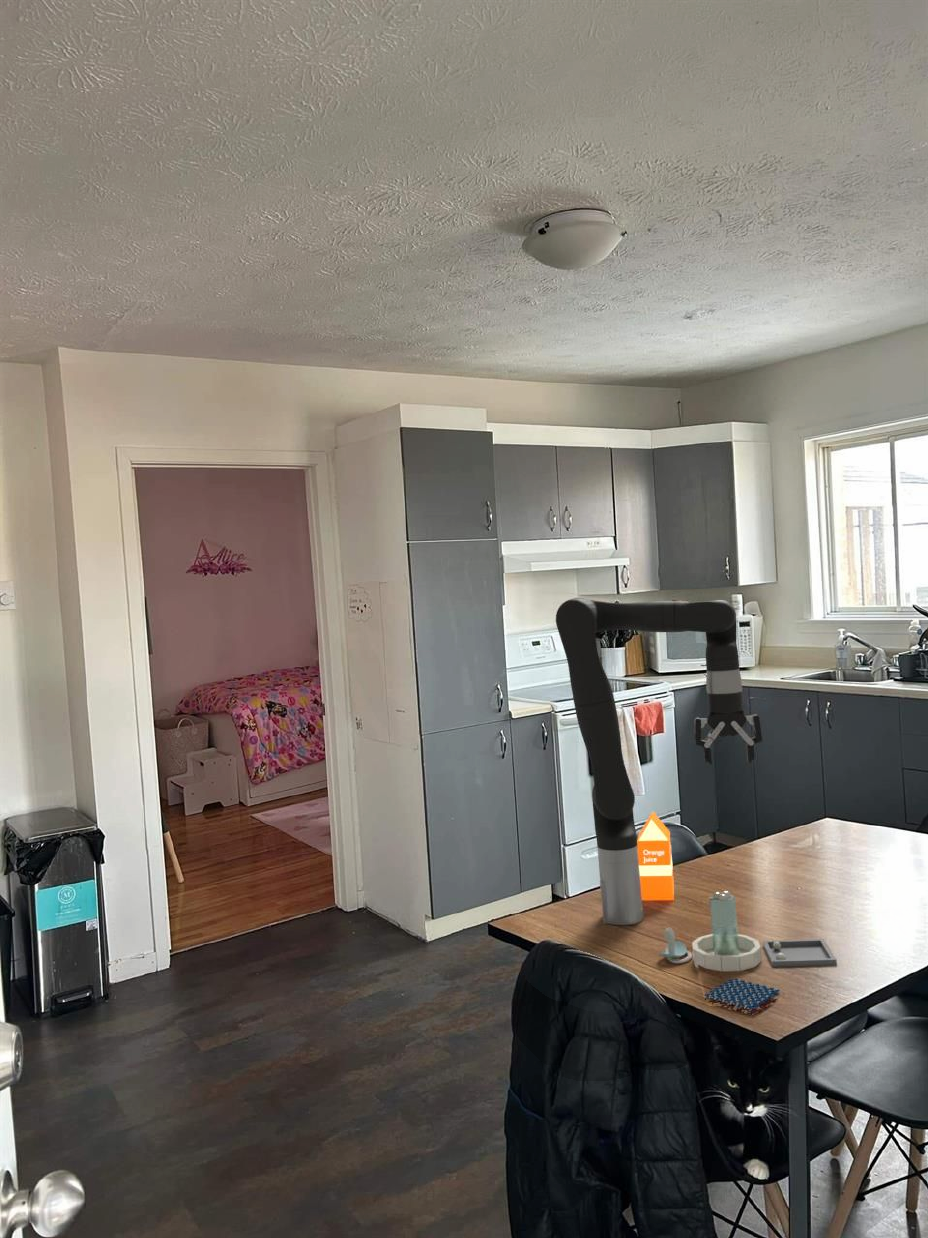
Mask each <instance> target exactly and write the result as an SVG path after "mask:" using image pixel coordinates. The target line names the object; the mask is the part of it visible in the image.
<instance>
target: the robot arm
mask: <svg viewBox="0 0 928 1238" xmlns="http://www.w3.org/2000/svg"><path fill="white" fill-rule="evenodd" d="M555 625H556V628H557V631H558V634H559V638H560V641H561V644H562V647H563V648H562V649H564V654H565V657H566V660H567V666H568V673H569V681H570V686H571V692H572V699H573V705H574V709H575V714H576V719H577V724H578V727H579V730H580V734H581V737H582V740H583V743H584V746H585V749H586V751H587V754H588V757H589V759H590V764H591V770H592V777H593V787H592V792H591V799H592V810H593V811H592V812H593V819H594V820H593V821H594V831H595V837H596V846H597V857H598V871H599V885H600V888H599V889H600V899H601V908H602V909H601V910H602V920H603V924H605V925H606V924H610V925H616V926H630V925H635V924H639V923H640V922H641V921H643V920H644V907H643V900H642V892H641V880H640V870H639V856H638V844H637V841H638V835H637V830H636V824H635V818H634V807H635V804H636V801H635V800H636V797H635V795H636V794H635V793H634V790H633V788H632V785H631V782H630V781H631V780H630V778H629V775H628V772H627V768H626V765H625V761H624V756H623V755H624V754H623V749H622V738H621V730H620V724H619V717H618V711H617V706H616V702H615V701H616V700H615V696H614V691H613V689H612V685H611V683H610V681H609V678H608V676H607V673H606V672H605V669H604V667H603V664H602V662H601V659H600V655H599V652H598V645H597V639H596V637H597V636H596V633H600V632H607V631H608V632H609V631H618V630H620V631H621V630H624V631H637V632H648V633H683V632H685V633H686V632H698V633H705V637H706V638H705V640H706V641H705V642H706V647H705V664H706V665H705V667H706V680H705V682H706V686H705V689H706V695H707V696H706V697H707V708H708V716H707V717H706V718H703V717H702V718H700V717H698V716H697V717H695V718H694V719H693V721H694V723H693V724H694V728H693V729H694V744H695V745H696V746H698V747H699V746H700V747H702V748H703V756H704V758H703V759H704V761H705V763H707V764H708V765H709V766H711V765H712V764H713V762H712V748H711V745H712V744H713V742H714V741H715V740H716V739H717V737H718V736H719V737H721V738H722V737H727V736H728V737H729V736H730V737H736V736H737V735H740V737H741V738H742V739H743V740H744V741H745V742H746V744H745V749H746V761H747V763H748V764H751V763H752V761H754V760H755V745H757V743H762V742H763V735H762V728H761V720H760V717H759V715H758V714H756V713H755V714H754V713H753V714H752V715H751V714H750V715H745V711H744V710H745V709H744V697H743V686H742V685H743V684H742V676H741V670H740V661H739V660H740V658H739V651H738V645H737V637H738V636H737V630H738V629H737V612H736V608H735V607H734V605H733V604H732V603H730V602H729V601H727V600H724V599H717V600H716V599H715V600H705V601H703V600H702V601H686V600H685V601H684V600H662V601H661V600H653V601H641V602H640V601H639V602H611V601H610V602H608V601H601V600H595V599H589V598H584V597H574V598H571V599H567V600H565V601H564V602H563V603H561V604H560V605H559V607H558V609H557V611H556V614H555ZM747 722H749V724H750V725H751V726H753V728H752V729H753V734H754V736H752V737H750V736H749V735H748V733H746V731H745V730H744V729H743V727H744V726H745V724H746V723H747ZM706 724H707V725H708V726H709V727H710V728H711V730H710V731H709V732H708V734H707V736H706V737H705V739H702V729H703V728H704V727H705V725H706Z"/></svg>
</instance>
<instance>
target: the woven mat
mask: <svg viewBox="0 0 928 1238" xmlns="http://www.w3.org/2000/svg"><path fill="white" fill-rule="evenodd" d="M713 989H714V990H713ZM713 989H712V990H709V993H704V997H705V996H706V997H705V998H704V1001H705V1000H706V1001H705V1003H706V1002H708V1003H707V1004H710V1002H712V1003H717V1004H716V1006H717V1005H718V1006H717V1007H720V1006H719V1005H721V1004H723V1008H725V1006H728V1007H727V1010H729V1009H731V1008H733V1009H731V1010H733V1011H734V1010H735V1012H737V1011H736V1010H739V1011H741V1010H744V1012H743V1013H744V1014H745V1015H748V1014H747V1013H749V1012H750V1013H751V1014H752V1013H753V1014H752V1015H754V1014H756V1013H757V1014H758V1013H761V1012H763V1010H764V1009H767V1008H768V1006H767V1005H769V1004H770V1005H772V1004H774V1003H776V1001H778V1000H779V998H773V997H774V995H778V993H779V992H780V989H777V988H774V987H772V986H771V987H770V986H767V985H763V984H759V983H756V984H755V983H753V982H751V981H748V980H746V981H745V980H744V979H743V980H741V979H740V978H736V977H735V978H728V981H723V984H719V985H718V987H713ZM707 998H708V1000H707ZM709 999H710V1000H709ZM712 999H713V1000H712ZM771 1003H772V1004H771ZM770 1005H769V1006H770ZM741 1007H742V1008H741ZM763 1008H764V1009H763ZM762 1009H763V1010H762ZM750 1013H749V1014H750ZM757 1014H756V1015H757ZM752 1015H751V1016H752ZM754 1016H755V1015H754Z"/></svg>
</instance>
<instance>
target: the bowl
mask: <svg viewBox="0 0 928 1238" xmlns="http://www.w3.org/2000/svg"><path fill="white" fill-rule="evenodd" d="M738 940H739V953H740V954H739V955H716V954H714V949H713V937H712V933H710V934H705V935H703V936H699V937H697V938H696V939H695V940H694V941H692V942H691V948H692V958H693V964H694V967H695V968H697V969H699V966H700V967H702V968H704V969H706V970H712V971H717V972H740V971H741V972H742V971H746V970H749V969H752V968H755V967H757V966H758V965H759V964H760V963H761V962H762V947H761V944H760V942H759V940H757V939H756V938H753V937H751V936H748V935H745V934H740V933H738Z"/></svg>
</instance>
